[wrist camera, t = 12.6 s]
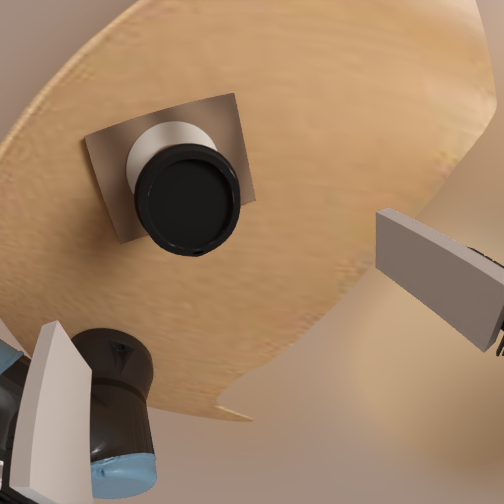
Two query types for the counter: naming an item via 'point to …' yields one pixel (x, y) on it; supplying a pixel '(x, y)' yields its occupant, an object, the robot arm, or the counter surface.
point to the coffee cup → (188, 198)
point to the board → (155, 137)
